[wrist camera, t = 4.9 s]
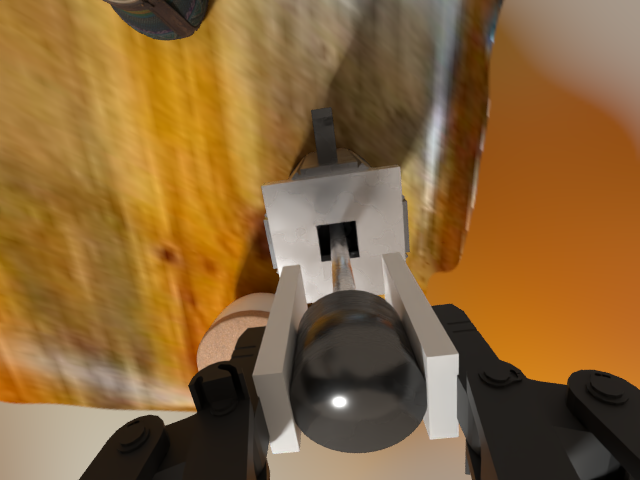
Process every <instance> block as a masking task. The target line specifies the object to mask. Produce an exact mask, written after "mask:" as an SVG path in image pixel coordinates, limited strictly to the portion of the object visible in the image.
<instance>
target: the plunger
mask: <svg viewBox="0 0 640 480" xmlns="http://www.w3.org/2000/svg"><path fill="white" fill-rule="evenodd" d="M317 228H318V235H319V241H320V248H321V249H323V250H327V251H331V265H332V283H333V293H330V294H328V295H326V296H324V297H322V298H320V299H318V300H317V301H316V302H314V303H313V304H312V305H311V306H310V307H309V308H308V309H307V310H306V312H305V313H304V315H303V316H302V318H301V320H300V323H299V327H298V332H297V340H296V348H295V357H294V365H293V373H292V381H291V389H290V404H291V408H292V413H293V417H294V421H295V423H296V424H297V426H298V427H299V429H300V430H301V431H302V432H303V433H304V434H305V435H306V436H307V437H309V438H310V439H311V440H313V441H314V442H316V443H317V444H320V445H322V446H324V447H326V448H329V449H332V450H336V451H341V452H347V453H367V452H374V451H378V450H382V449H385V448H388V447H390V446H393V445H395V444H397V443H399V442H400V441H402V440H404V439H405V438H406V437H407V436H409V435H410V434H411V433H412V432H413V431H414V430H415V429H416V428H417V427H418V425H419V424H420V423H421V421H422V419H423V418H424V415H425V413H426V410H427V386H426V383H425V380H424V377H423V375H422V372H421V370H420V367H419V365H418V362H417V360H416V357H415V354H414V352H413V349H412V347H411V344H410V342H409V339H408V337H407V334H406V332H405V329H404V326H403V324H402V321H401V319H400V317H399V315H398V313H397V312H396V310H395V309H394V308H393V307H392V306H391V304H389V303H388V302H387V301H386V300H384V299H383V298H381V297H379V296H377V295H375V294H373V293H369V292H366V291H361V290H356V287H355V282H354V277H353V272H352V266H351V261H350V256H349V251H348V249H349V248H352V247H353V246H355V245H357V235H356V226H355V221H348V222H340V223H333V224H325V225H318V226H317Z"/></svg>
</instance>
